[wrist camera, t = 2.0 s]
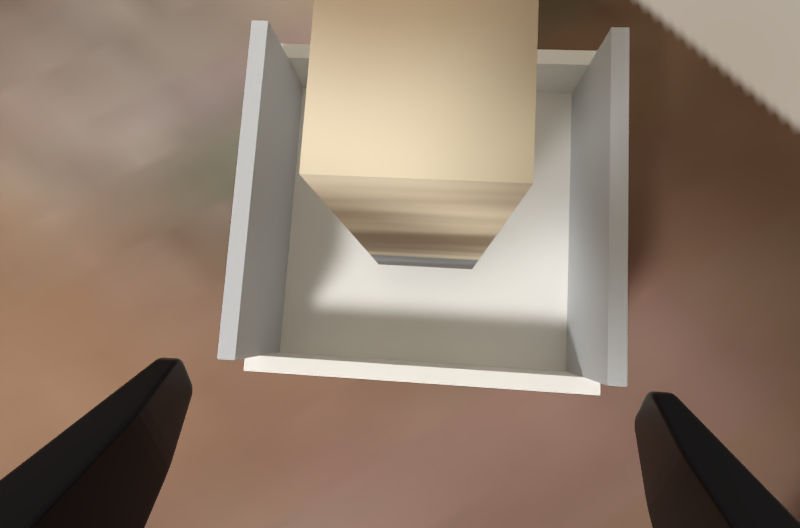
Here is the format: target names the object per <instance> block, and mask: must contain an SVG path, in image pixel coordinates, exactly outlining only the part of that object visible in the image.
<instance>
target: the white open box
mask: <svg viewBox="0 0 800 528" xmlns="http://www.w3.org/2000/svg"><path fill="white" fill-rule="evenodd" d="M629 38H630V28H629V27H611V29H610V31H609V32H608V34H607V35H606V37H605V39H604V40H603V42H602V44H601V45H600V47H599V49H598V50H597V51H588V50H541V49H537V78H536V111H535V144H534V178H533V185H532V186H531V187H530V189H529V190H528V192H527V193H526V194H525V196H524V197H523V199H522V200H521V201H520V203H519V204H518V206H517V207H516V208H515V210H514V211H513V213H512V214H511V215H510V217H509V218H508V220H507V221H506V222H505V224H504V225H503V227H502V228H501V229H500V231H499V232H498V234H497V235H496V236H495V238H494V239H493V241H492V242H491V243H490V245H489V246H488V248H487V249H486V251H485V252H484V253H483V255H482V256H481V258H480V259H479V260H478V262H477V263H476V265H475V266H474V267H473V269H457V268H438V267H419V266H400V265H381V264H378V263H377V262H376V261H375V260H374V258H373V257H372V256H371V255H370V254H369V253H368V252H367V250H366V249H365V248H364V247H363V246H362V245H361V244H360V243H359V241H358V240H357V239H356V238H355V237H354V236H353V235H352V233H351V232H350V231H349V230H348V229H347V228H346V227H345V226H344V224H343V223H342V222H341V221H340V220H339V219H338V218H337V216H336V215H335V214H334V213H333V212H332V211H331V210H330V208H329V207H328V206H327V205H326V204H325V203H324V202H323V201H322V199H321V198H320V197H319V196H318V195H317V194H316V193H315V191H314V190H313V189H312V188H311V187H310V186H309V185H308V184H307V182H306V181H305V180H304V179H303V178H302V177H301V176H300V174H299V169H300V157H301V146H302V134H303V123H304V111H305V100H306V88H307V77H308V65H309V54H310V44H280V42H279V40H278V38H277V36H276V35H275V33H274V31H273V29H272V27H271V25H270V24H269V22H268V21H252V23H251V33H250V43H249V52H248V62H247V72H246V82H245V91H244V101H243V111H242V121H241V131H240V140H239V150H238V160H237V170H236V180H235V189H234V199H233V209H232V219H231V228H230V238H229V248H228V258H227V268H226V277H225V287H224V297H223V307H222V316H221V326H220V336H219V346H218V356H217V359H225V360H239V359H244V358H245V362H244V371H257V372H271V373H286V374H300V375H314V376H329V377H343V378H358V379H372V380H386V381H401V382H415V383H430V384H444V385H458V386H473V387H487V388H502V389H516V390H530V391H545V392H559V393H574V394H588V395H600V383H601V384H604V385H607V386H622V387H627V323H628V180H629Z"/></svg>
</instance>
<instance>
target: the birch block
mask: <svg viewBox="0 0 800 528" xmlns="http://www.w3.org/2000/svg"><path fill="white" fill-rule="evenodd" d="M538 11H539V0H314V8H313V19H312V31H311V42H310V54H309V65H308V77H307V88H306V100H305V111H304V123H303V134H302V146H301V157H300V169H299V174H300V176H301V177H302V178H303V179H304V180H305V181H306V182H307V184H308V185H309V186H310V187H311V188H312V189H313V190H314V191H315V193H316V194H317V195H318V196H319V197H320V198H321V199H322V201H323V202H324V203H325V204H326V205H327V206H328V207H329V208H330V210H331V211H332V212H333V213H334V214H335V215H336V216H337V218H338V219H339V220H340V221H341V222H342V223H343V224H344V226H345V227H346V228H347V229H348V230H349V231H350V232H351V233H352V235H353V236H354V237H355V238H356V239H357V240H358V241H359V243H360V244H361V245H362V246H363V247H364V248H365V249H366V250H367V252H368V253H369V254H370V255H371V256H372V257H373V258H374V260H375V261H376V262H377V263H378V264H381V265H400V266H419V267H438V268H457V269H473V267H474V266H475V265H476V263H477V262H478V260H479V259H480V258H481V256H482V255H483V253H484V252H485V251H486V249H487V248H488V246H489V245H490V243H491V242H492V241H493V239H494V238H495V236H496V235H497V234H498V232H499V231H500V229H501V228H502V227H503V225H504V224H505V222H506V221H507V220H508V218H509V217H510V215H511V214H512V213H513V211H514V210H515V208H516V207H517V206H518V204H519V203H520V201H521V200H522V199H523V197H524V196H525V194H526V193H527V192H528V190H529V189H530V187H531V186H532V185H533V178H534V144H535V111H536V78H537V45H538Z"/></svg>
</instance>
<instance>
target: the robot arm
mask: <svg viewBox="0 0 800 528" xmlns="http://www.w3.org/2000/svg"><path fill="white" fill-rule="evenodd" d="M191 396H192V383H191V381H190V378H189V376H188V374H187V371H186V369H185V366H184V364H183V362H182V361H181V360H180V359H175V358H159V359H157V360H155V361H154V362H153V363H151V364H150V365H149V366H148V367H146V368H145V369H144V370H142V371H141V372H140V373H139V374H137V375H136V376H135V377H133V378H132V379H131V380H129V381H128V382H127V383H126V384H124V385H123V386H122V387H120V388H119V389H118V390H116V391H115V392H114V393H113V394H111V395H110V396H109V397H107V398H106V399H105V400H104V401H102V402H101V403H100V404H98V405H97V406H96V407H94V408H93V409H92V410H91V411H89V412H88V413H87V414H85V415H84V416H83V417H82V418H80V419H79V420H78V421H76V422H75V423H74V424H72V425H71V426H70V427H69V428H67V429H66V430H65V431H63V432H62V433H61V434H60V435H58V436H57V437H56V438H54V439H53V440H52V441H50V442H49V443H48V444H47V445H45V446H44V447H43V448H41V449H40V450H39V451H38V452H36V453H35V454H34V455H32V456H31V457H30V458H28V459H27V460H26V461H25V462H23V463H22V464H21V465H19V466H18V467H17V468H15V469H14V470H13V471H12V472H10V473H9V474H8V475H6V476H5V477H4V478H3V479H1V480H0V528H144V527H145V525H146V522H147V520H148V518H149V515H150V513H151V511H152V508H153V506H154V504H155V501H156V499H157V497H158V494H159V492H160V489H161V487H162V485H163V482H164V480H165V478H166V475H167V472H168V470H169V467H170V464H171V461H172V458H173V455H174V452H175V449H176V445H177V442H178V439H179V436H180V432H181V429H182V426H183V422H184V419H185V416H186V413H187V409H188V406H189V403H190V399H191ZM635 433H636V439H637V445H638V452H639V458H640V464H641V470H642V477H643V483H644V489H645V495H646V501H647V506H648V511H649V515H650V519H651V523H652V526H653V528H800V523H799V522H798V521H797V520H796V519H795V518H794V517H793V516H792V515H791V514H790V513H789V511H788V510H787V509H786V508H785V507H784V506H783V505H782V504H781V503H780V502H779V501H778V500H777V499H776V498H775V497H774V496H773V495H772V494H771V493H770V492H769V491H768V490H767V489H766V488H765V487H764V486H763V485H762V484H761V483H760V482H759V481H758V480H757V479H756V478H755V477H754V476H753V475H752V473H751V472H750V471H749V470H748V469H747V468H746V467H745V466H744V465H743V464H742V463H741V462H740V461H739V460H738V459H737V458H736V457H735V456H734V455H733V454H732V453H731V452H730V451H729V450H728V449H727V448H726V447H725V446H724V445H723V444H722V443H721V442H720V441H719V440H718V439H717V438H716V437H715V435H714V434H713V433H712V432H711V431H710V430H709V429H708V428H707V427H706V426H705V425H704V424H703V423H702V422H701V421H700V420H699V419H698V418H697V417H696V416H695V415H694V414H693V413H692V412H691V411H690V410H689V409H688V408H687V407H686V406H685V405H684V404H683V403H682V402H681V401H680V400H679V399H678V398H677V397H676V396H675V395H674V394H672V393H667V392H649V393H648V394H647V395H646V397H645V399H644V401H643V403H642V405H641V407H640V409H639V411H638V413H637V415H636V418H635Z"/></svg>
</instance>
